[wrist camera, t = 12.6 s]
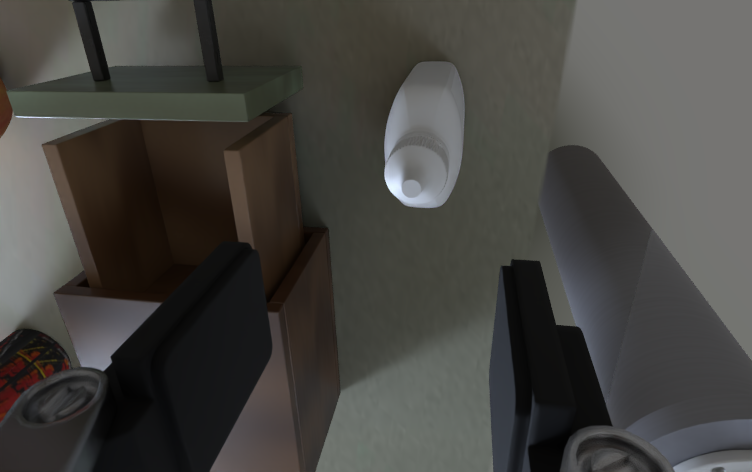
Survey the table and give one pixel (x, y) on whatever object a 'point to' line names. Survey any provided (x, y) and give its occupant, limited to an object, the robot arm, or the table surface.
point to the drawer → (172, 162)
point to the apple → (4, 109)
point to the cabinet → (280, 377)
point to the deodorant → (27, 364)
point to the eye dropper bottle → (425, 135)
